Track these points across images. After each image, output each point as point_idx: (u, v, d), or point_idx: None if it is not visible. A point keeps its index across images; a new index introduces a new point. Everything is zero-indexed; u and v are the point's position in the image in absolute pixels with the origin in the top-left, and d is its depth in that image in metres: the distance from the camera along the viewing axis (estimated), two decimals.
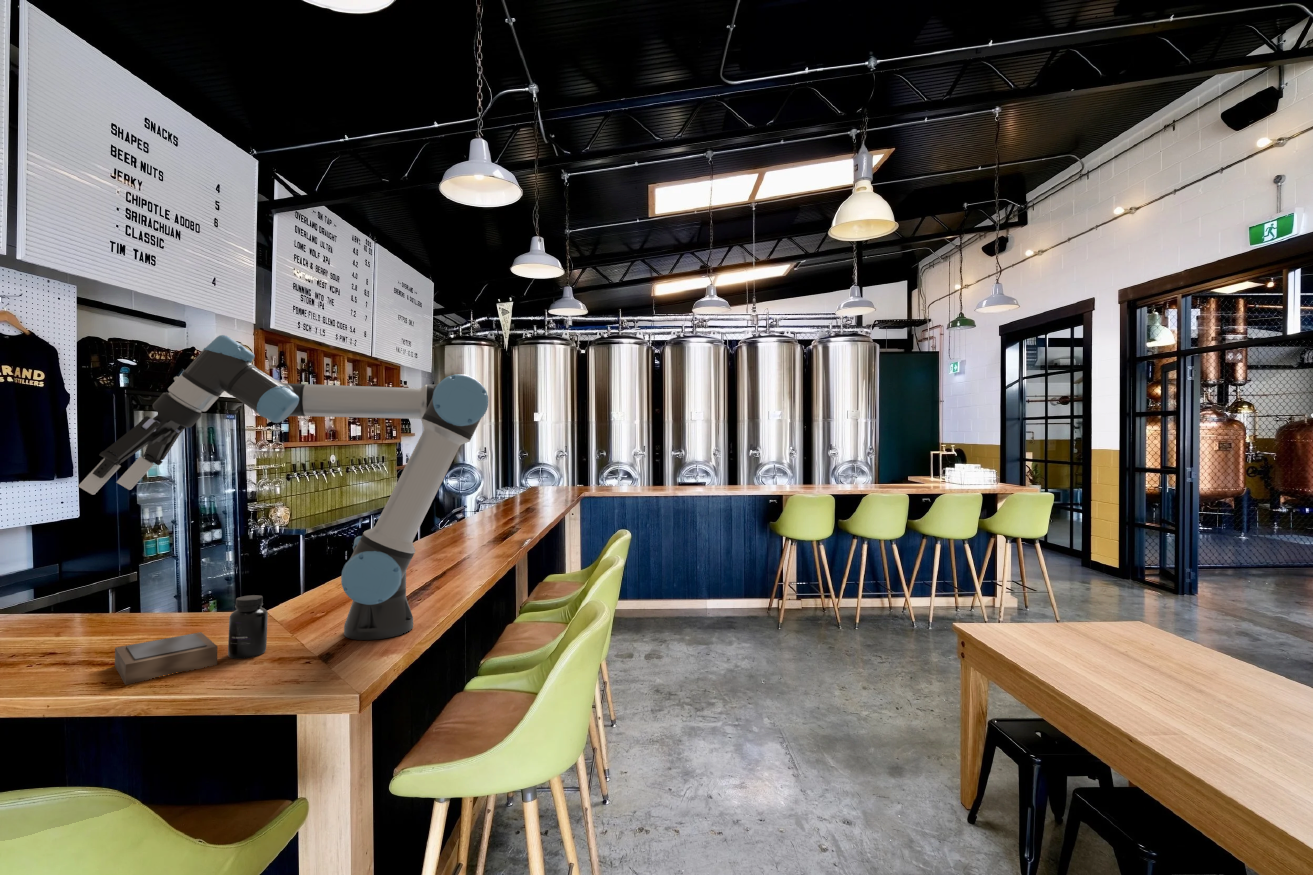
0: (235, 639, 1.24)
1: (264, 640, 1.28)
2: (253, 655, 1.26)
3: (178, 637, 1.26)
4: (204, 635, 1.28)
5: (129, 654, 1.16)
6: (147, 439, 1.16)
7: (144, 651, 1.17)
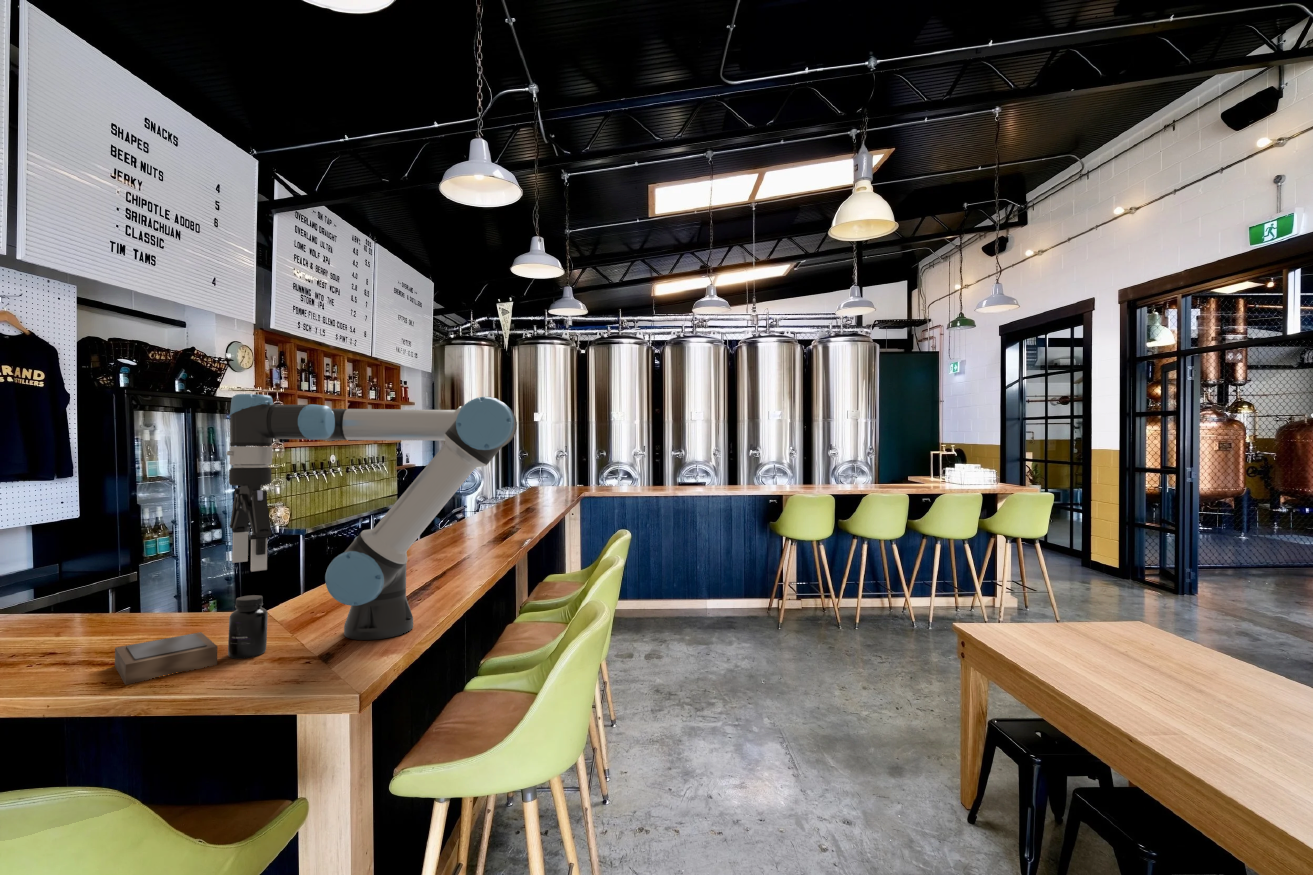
0: (235, 639, 1.24)
1: (264, 640, 1.28)
2: (253, 655, 1.26)
3: (178, 637, 1.26)
4: (204, 635, 1.28)
5: (129, 654, 1.16)
6: None
7: (144, 651, 1.17)
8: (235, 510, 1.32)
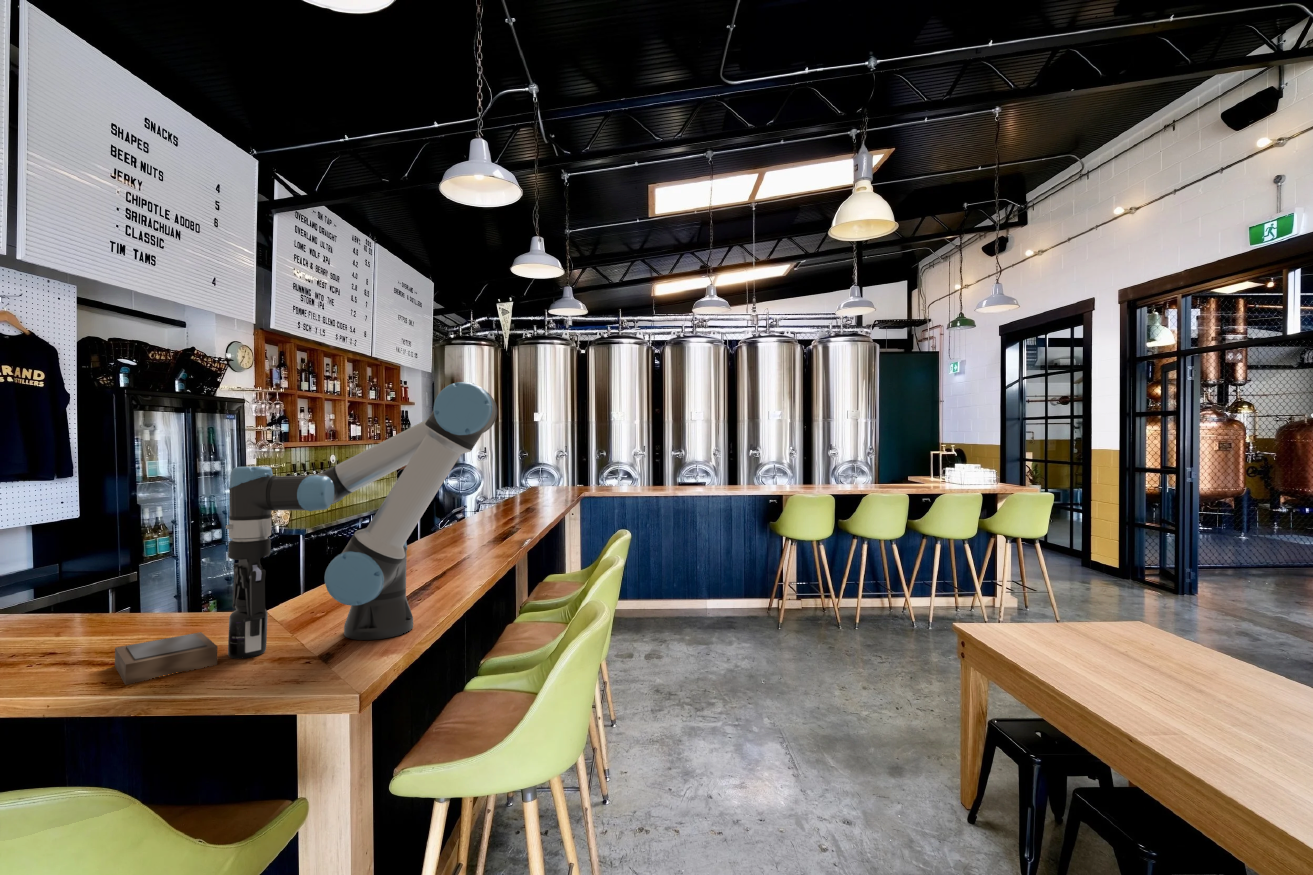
0: (235, 639, 1.24)
1: (264, 640, 1.28)
2: (253, 655, 1.26)
3: (178, 637, 1.26)
4: (204, 635, 1.28)
5: (129, 654, 1.16)
6: None
7: (144, 651, 1.17)
8: (236, 586, 1.31)
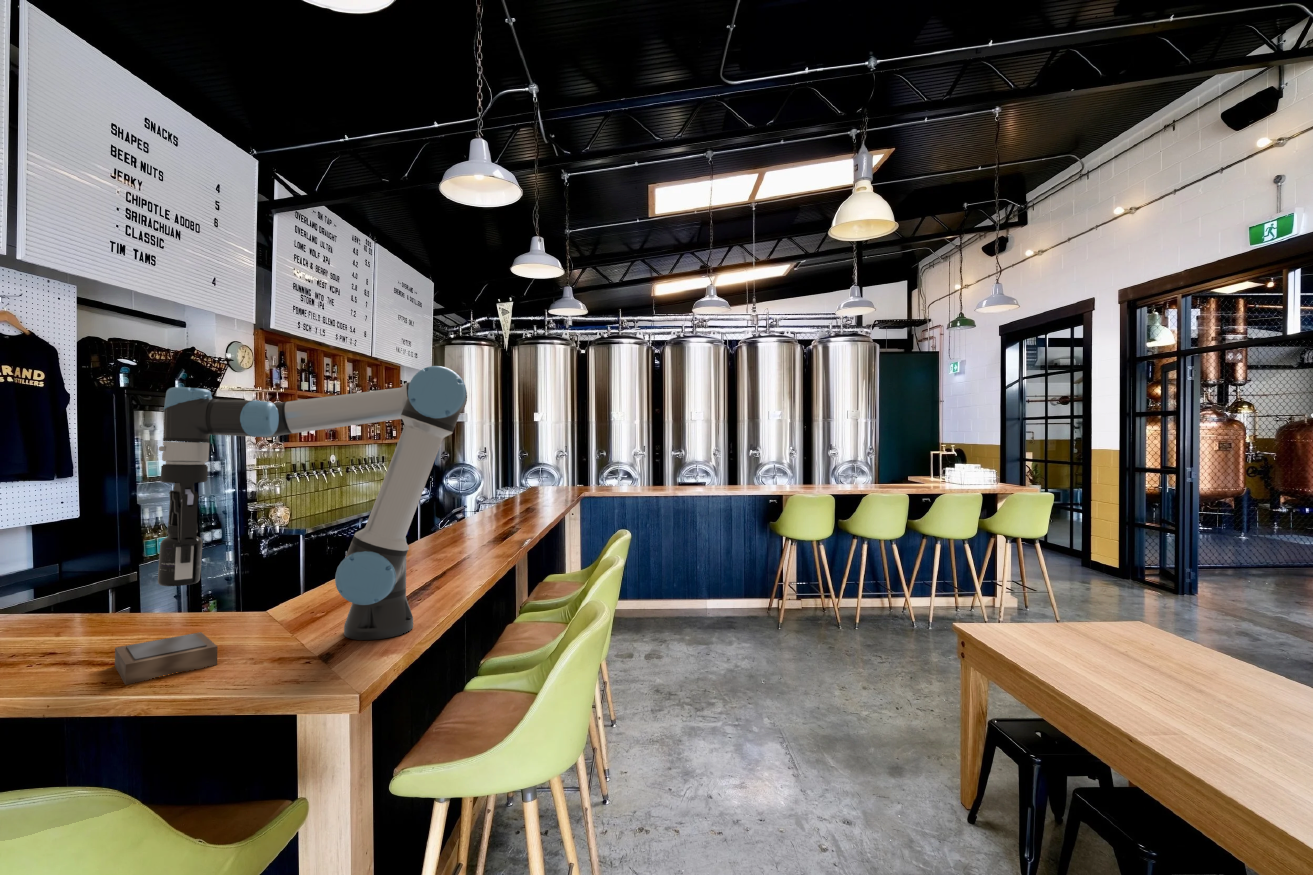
0: (165, 565, 1.19)
1: (197, 569, 1.22)
2: (184, 583, 1.20)
3: (178, 637, 1.26)
4: (204, 635, 1.28)
5: (129, 654, 1.16)
6: None
7: (144, 651, 1.17)
8: (171, 514, 1.25)
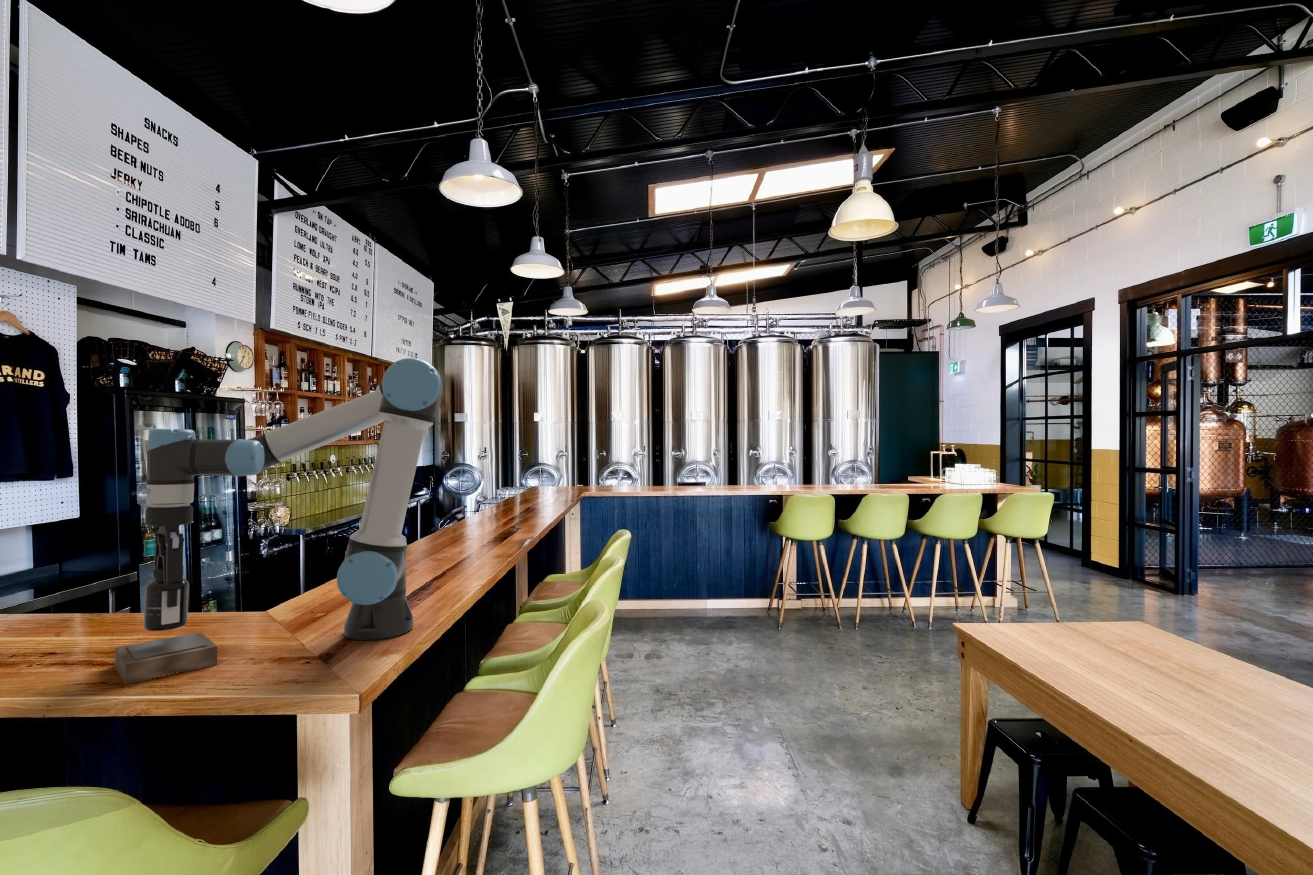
0: (151, 610, 1.17)
1: (184, 612, 1.21)
2: (170, 627, 1.19)
3: (178, 637, 1.26)
4: (204, 635, 1.28)
5: (129, 654, 1.16)
6: None
7: (144, 651, 1.17)
8: (157, 556, 1.24)
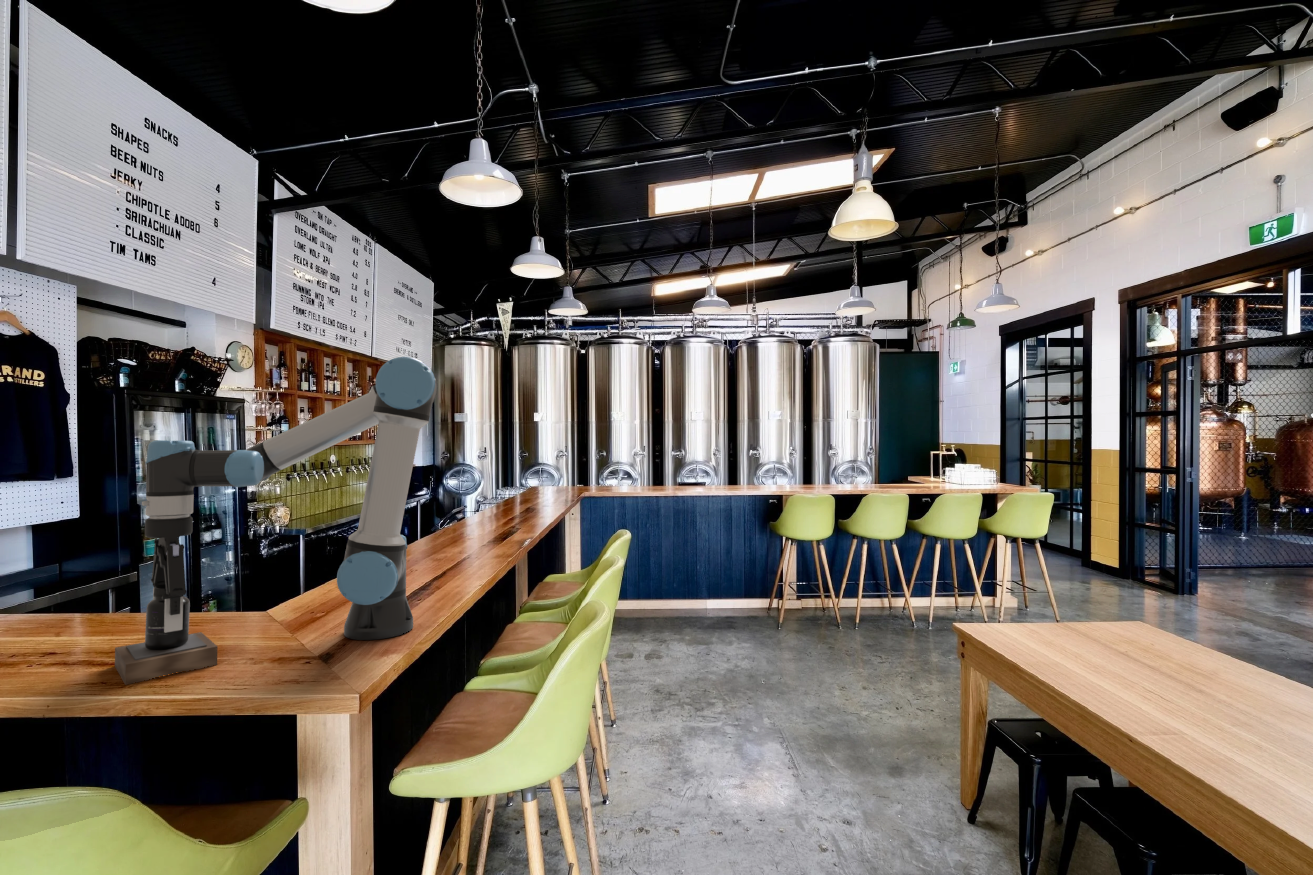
0: (151, 629, 1.17)
1: (184, 631, 1.21)
2: (171, 646, 1.19)
3: None
4: (204, 635, 1.28)
5: (129, 654, 1.16)
6: None
7: (144, 651, 1.17)
8: (156, 563, 1.25)
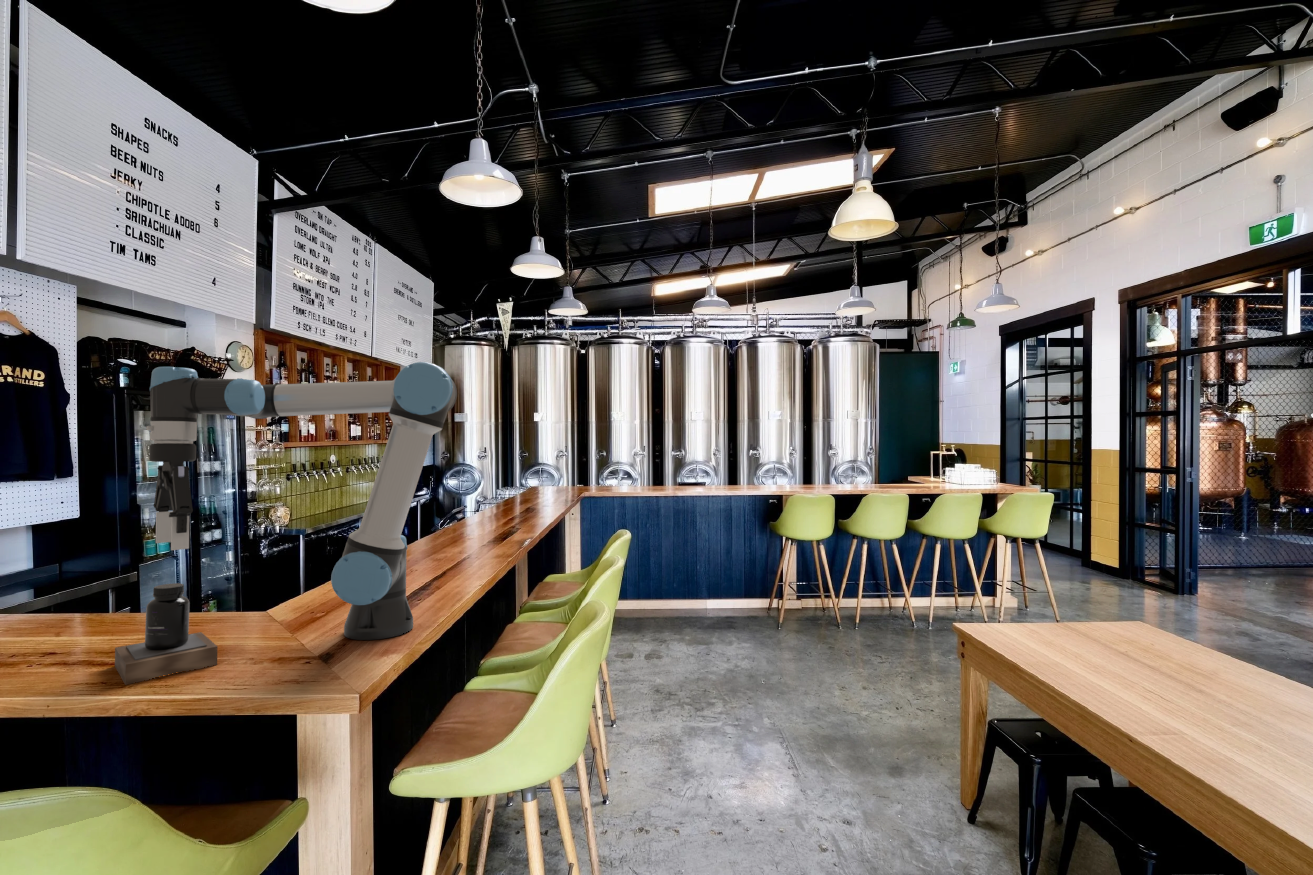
0: (151, 629, 1.17)
1: (184, 631, 1.21)
2: (171, 646, 1.19)
3: None
4: (204, 635, 1.28)
5: (129, 654, 1.16)
6: None
7: (144, 651, 1.17)
8: (159, 488, 1.27)
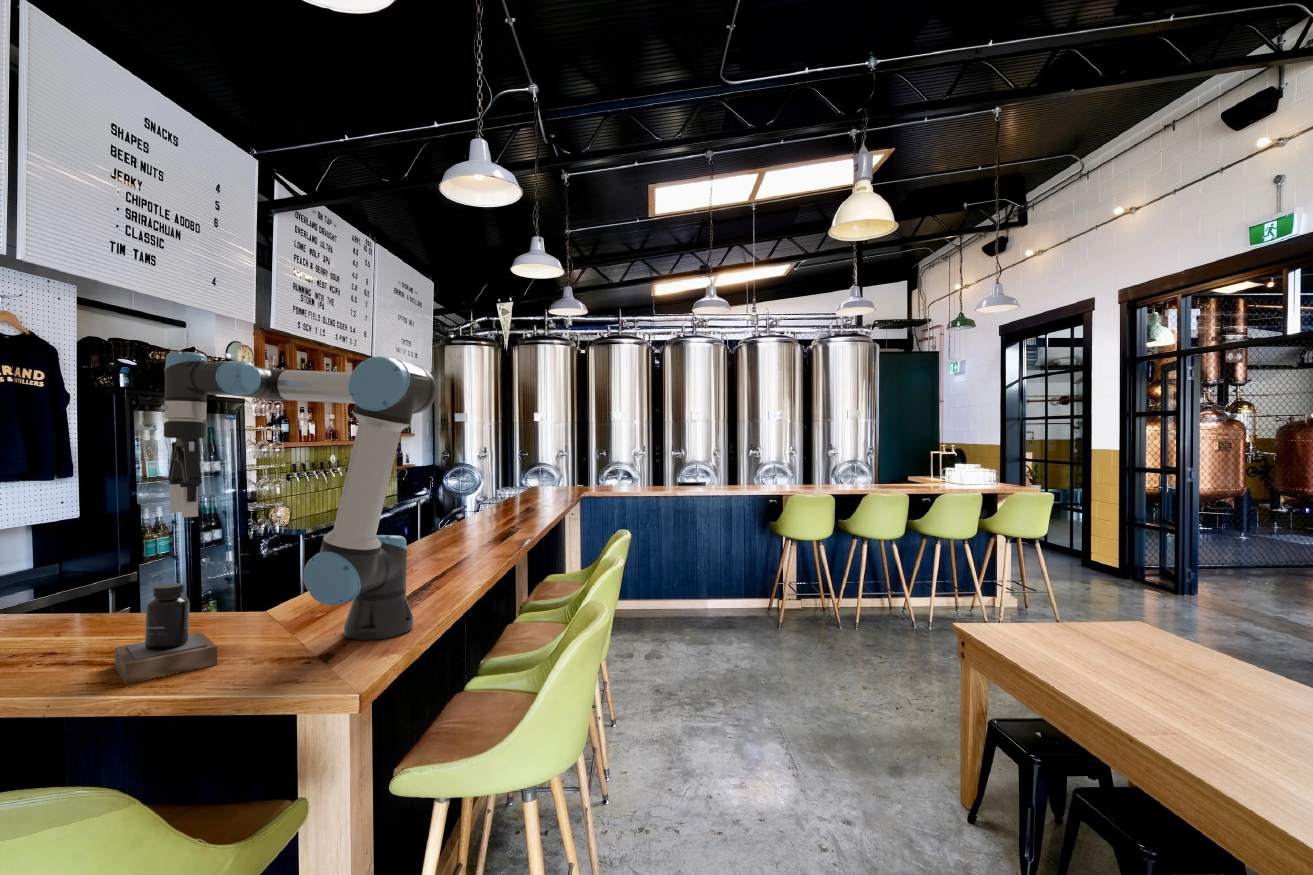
0: (151, 629, 1.17)
1: (184, 631, 1.21)
2: (171, 646, 1.19)
3: None
4: (204, 635, 1.28)
5: (129, 654, 1.16)
6: None
7: (144, 651, 1.17)
8: (172, 463, 1.40)
